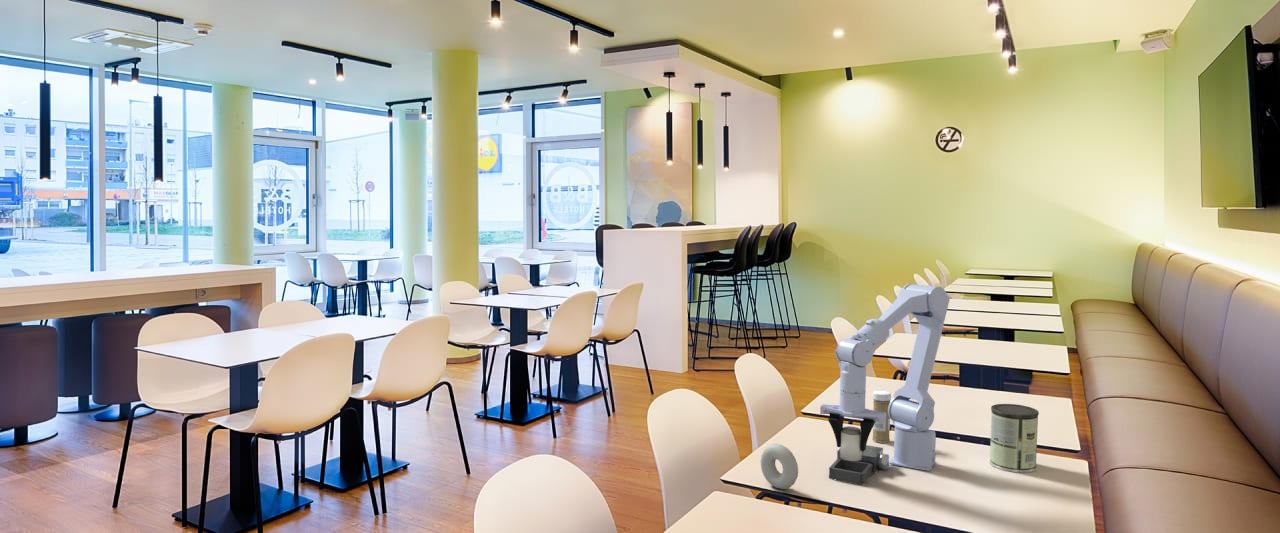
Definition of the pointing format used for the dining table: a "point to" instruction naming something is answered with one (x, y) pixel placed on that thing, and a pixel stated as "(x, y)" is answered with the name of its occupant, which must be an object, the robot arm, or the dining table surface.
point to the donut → (787, 463)
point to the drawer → (873, 458)
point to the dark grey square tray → (850, 471)
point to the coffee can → (1014, 437)
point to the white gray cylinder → (851, 444)
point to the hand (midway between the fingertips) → (851, 447)
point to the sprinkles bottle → (882, 405)
